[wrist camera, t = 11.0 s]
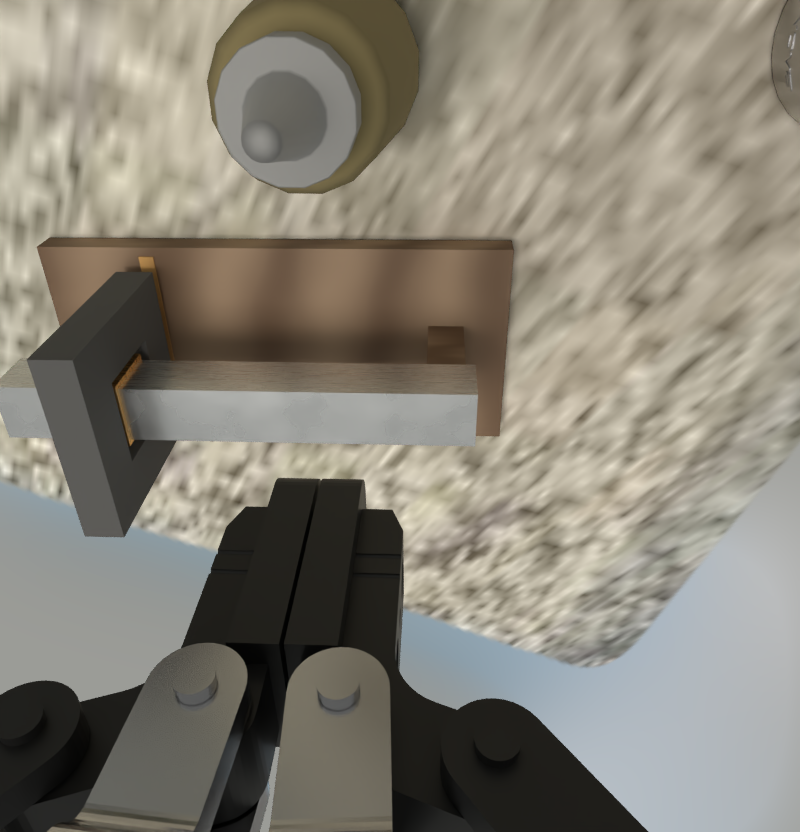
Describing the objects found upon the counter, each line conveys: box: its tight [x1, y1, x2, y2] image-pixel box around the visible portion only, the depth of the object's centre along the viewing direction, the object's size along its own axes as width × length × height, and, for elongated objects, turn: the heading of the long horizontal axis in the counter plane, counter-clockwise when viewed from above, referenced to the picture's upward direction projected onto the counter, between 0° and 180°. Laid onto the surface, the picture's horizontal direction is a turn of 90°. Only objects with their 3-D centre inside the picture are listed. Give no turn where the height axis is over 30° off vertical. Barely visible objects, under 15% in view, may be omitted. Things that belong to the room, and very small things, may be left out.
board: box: [37, 238, 514, 436], centre depth 41 cm, size 26×12×6 cm, turn 91°
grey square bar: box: [0, 354, 478, 446], centre depth 37 cm, size 24×4×4 cm, turn 91°
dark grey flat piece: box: [27, 272, 177, 537], centre depth 37 cm, size 2×10×10 cm, turn 0°
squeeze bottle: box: [207, 0, 419, 194], centre depth 27 cm, size 8×8×18 cm
